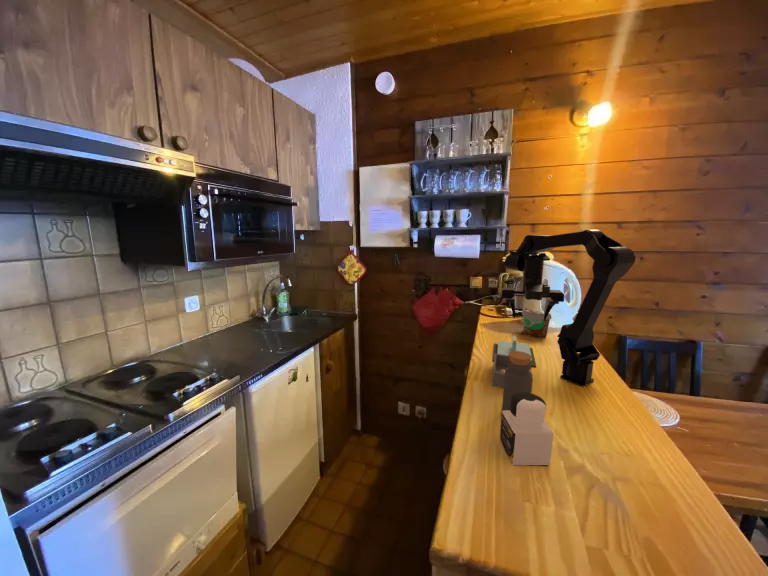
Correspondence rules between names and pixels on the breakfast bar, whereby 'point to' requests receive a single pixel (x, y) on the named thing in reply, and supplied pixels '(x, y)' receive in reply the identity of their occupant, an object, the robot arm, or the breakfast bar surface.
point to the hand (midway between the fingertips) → (529, 319)
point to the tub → (501, 370)
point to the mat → (530, 351)
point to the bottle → (516, 376)
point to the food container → (535, 323)
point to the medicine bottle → (526, 431)
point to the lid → (512, 347)
